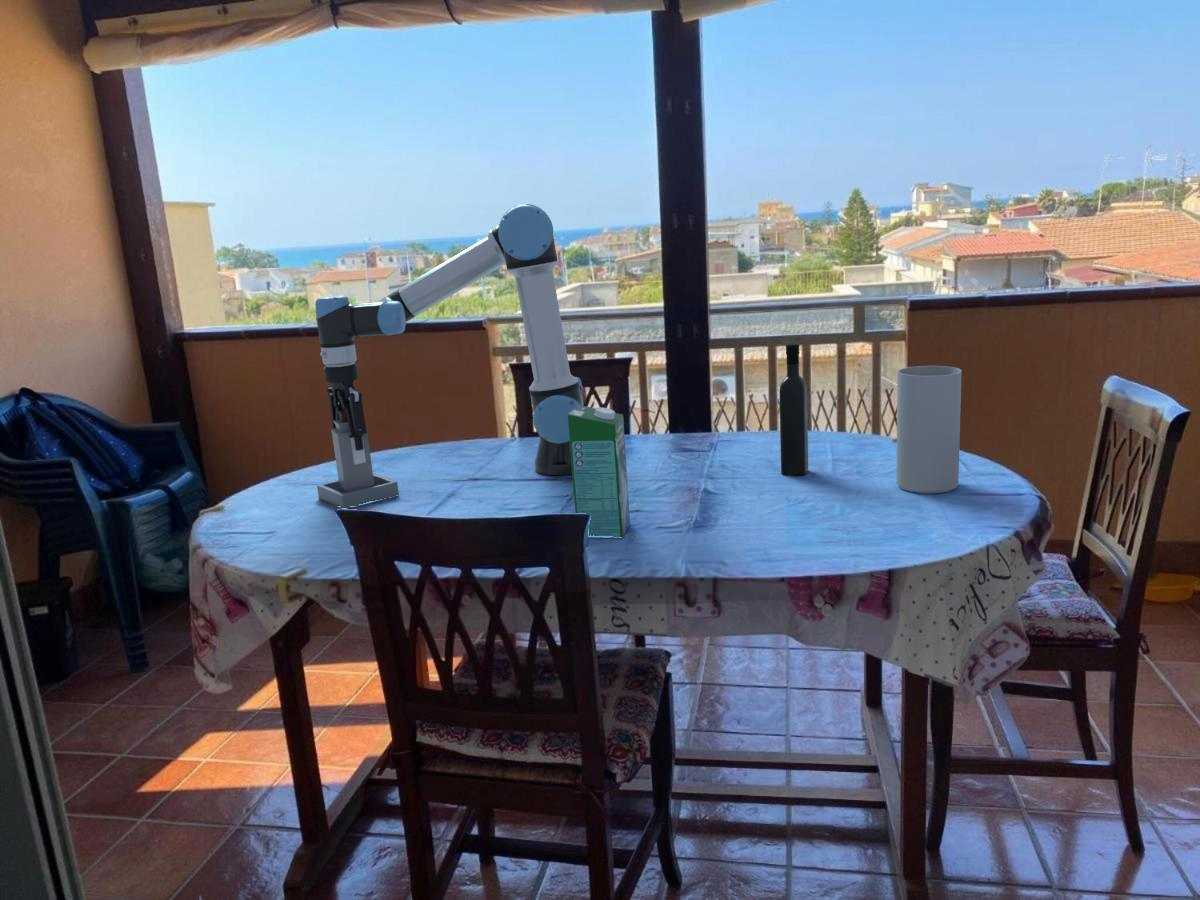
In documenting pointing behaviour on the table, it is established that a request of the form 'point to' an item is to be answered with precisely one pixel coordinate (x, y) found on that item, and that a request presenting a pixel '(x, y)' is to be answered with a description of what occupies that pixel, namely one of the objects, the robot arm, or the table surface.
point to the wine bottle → (793, 417)
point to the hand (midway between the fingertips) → (353, 460)
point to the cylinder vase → (928, 428)
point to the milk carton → (599, 469)
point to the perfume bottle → (350, 457)
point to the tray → (357, 492)
